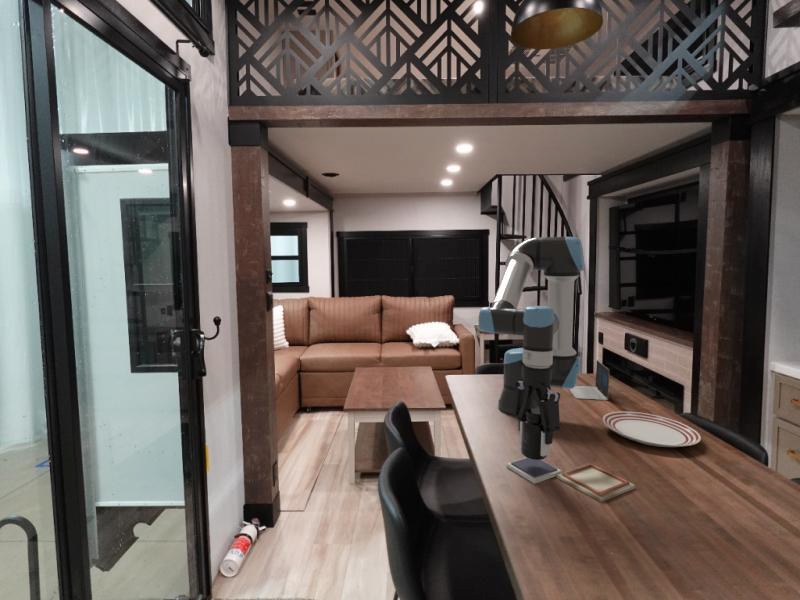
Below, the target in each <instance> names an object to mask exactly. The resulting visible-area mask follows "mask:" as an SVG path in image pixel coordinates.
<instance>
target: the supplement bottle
mask: <svg viewBox="0 0 800 600" xmlns="http://www.w3.org/2000/svg"><path fill="white" fill-rule="evenodd" d="M548 427H549V426H548ZM543 430H544V428H543V424H542V419H541V415H540V410H539V409H533V408H532V409H527V411H526V419H525V420H523V422H522V436H521V445H520V452H521V455H522V456H524V458H526V457H527V458H530V459H534V460H544V459H546V458H547V457H548V455H546V456H541V431H543Z"/></svg>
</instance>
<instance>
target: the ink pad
mask: <svg viewBox="0 0 800 600" xmlns="http://www.w3.org/2000/svg"><path fill="white" fill-rule="evenodd" d="M506 468H508V469H509V470H511V471H512V472H514V473H515V474H517V475H519V476H521V477H522V478H524V479H525V480H528V482H531V483H532V484H535V485H536V484H538V483H541V482H543V481H546V480H549V479H551V478H555V477H557V474H560V473H563V471H562V470H561V469H559V468H557V467H556V466H554V465H551V464H550V463H548V462H546V461H544V459H542V460H534V459H530V458H527V457H523V458H521V459H517V460H514V461H511V462H507V463H506Z"/></svg>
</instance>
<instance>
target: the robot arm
mask: <svg viewBox="0 0 800 600" xmlns="http://www.w3.org/2000/svg"><path fill="white" fill-rule="evenodd" d="M583 249H584V248H583V243H582V240H581V239H580V238H579V237H576V236H553V237H552V236H549V237H547V236H546V237H544V236H543V237H539V236H538V237H531V238H528V239H525V240H524V241H522V242H520V243H518V245H516V246H515V247H514V248H513V249H512V250H511V251H510V253H508V255H507V257H506V260H505V270H504V273H503V276H502V278H501V281H500V283H499V286H498V288H497V291H496V293H495V295H494V298H493V301H492V303H491V307H490V306H487V307H486V306H485V307H481V309H480V311H479V313H478V327H479V330H480V331H481V332H483V333H488V334H489V333H490V334H491V333H492V334H499V335H514V336H515V335H516V336H523V337H522V341H523V342H522V344H523V345H522V347H518V348H511V349H508V350H507V351H505V353H504V358H503V363H502V364H503V388H502V391H501V394H500V398H499V399H498V404H497V408H498V409H499V411H501V413H504V414H508V415H512V416H514V417H516V418H517V420H518V432H519V446H521V436H522V422H523V420H525V419H526V411H527V409H532V408H533V409H539V410H540V415H541V419H542V424H543V428H544V430H543V431H541V456H546V455H547V456H548V455H549V456H550V455H551V445H552V444H553V435H554V433H555V432H559V431H561V419H560V399H561V393H560V392H555V391H553V390H552V388H557V389H558V388H559V389H560V390H562V389H566V390H567V389H568V390H570V389H572V388H574V387H575V386H577V380H578V376H579V371H580V365H581V357H579V356H577V351H576V350H575V349H574V348H573V331H574V330H573V329H574V327H573V326H574V298H575V297H574V296H575V295H574V294H575V281H576V279H578V278H579V277H580V272H583V271H584V269H585V257H584V250H583ZM533 271H543V276H544V278H545V279H546V280H547V281H548V282H547V305H546V306H544V305H529V306H525V307H524V308H523V309H522V308H521V309H520V308H518V306H519V304H520V301H521V298H522V295H523V292H524V291H523V290H524V288H525V285H526V282H527V278H528V276H529V275H530V274H531V273H532V272H533ZM548 426H549V427H548Z"/></svg>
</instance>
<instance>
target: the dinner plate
mask: <svg viewBox="0 0 800 600" xmlns="http://www.w3.org/2000/svg"><path fill="white" fill-rule="evenodd" d="M602 422H603V424H604V425H605V426H606V427H607V428H609V429H610V430H611V431H613V432H614V433H616V434H617V435H620V436H622V437H623V438H627V439H628V440H630V441H633V442H635V441H636V443H639V444H643V445H646V446H651V447H658V448H680V447H688V446H689V447H691V446H695V445H697V444H698V443H700V442H701V440H702V437H701V435H700V433H698V431H696V430H695V429H694V428H692V427H690V426H688V425H686V424H684V423H682V422H680V421H677V420H674V419H671V418H668V417H665V416H661V415H656V414H651V413H644V412H639V411H611V412H609V413H606V414H604V415H603V417H602Z"/></svg>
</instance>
